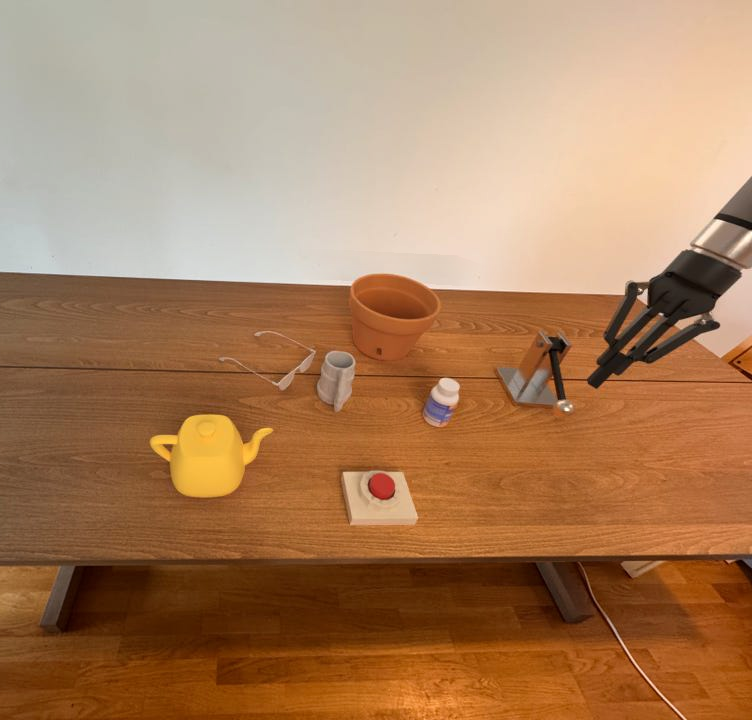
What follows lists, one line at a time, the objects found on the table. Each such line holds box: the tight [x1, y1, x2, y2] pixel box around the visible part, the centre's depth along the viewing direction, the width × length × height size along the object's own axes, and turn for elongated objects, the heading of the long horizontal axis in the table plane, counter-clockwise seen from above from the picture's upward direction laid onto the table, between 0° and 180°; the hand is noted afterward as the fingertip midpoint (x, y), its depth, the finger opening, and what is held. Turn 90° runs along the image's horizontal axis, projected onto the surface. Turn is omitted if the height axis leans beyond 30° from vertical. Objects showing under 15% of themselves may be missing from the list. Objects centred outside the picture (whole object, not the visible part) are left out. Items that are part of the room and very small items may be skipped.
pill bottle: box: [422, 377, 461, 428], centre depth 86 cm, size 5×5×10 cm
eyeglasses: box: [218, 330, 317, 391], centre depth 99 cm, size 15×18×4 cm
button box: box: [340, 470, 419, 526], centre depth 72 cm, size 11×9×4 cm
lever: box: [547, 336, 575, 418], centre depth 87 cm, size 17×4×4 cm, turn 177°
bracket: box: [494, 330, 573, 410], centre depth 93 cm, size 12×10×15 cm
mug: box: [316, 350, 356, 413], centre depth 88 cm, size 8×12×12 cm, turn 178°
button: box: [369, 473, 395, 499], centre depth 70 cm, size 4×4×2 cm
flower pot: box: [348, 273, 442, 362], centre depth 104 cm, size 21×21×15 cm
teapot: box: [149, 414, 274, 499], centre depth 71 cm, size 13×20×12 cm
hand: (591, 384), depth 72 cm, fingers closed
